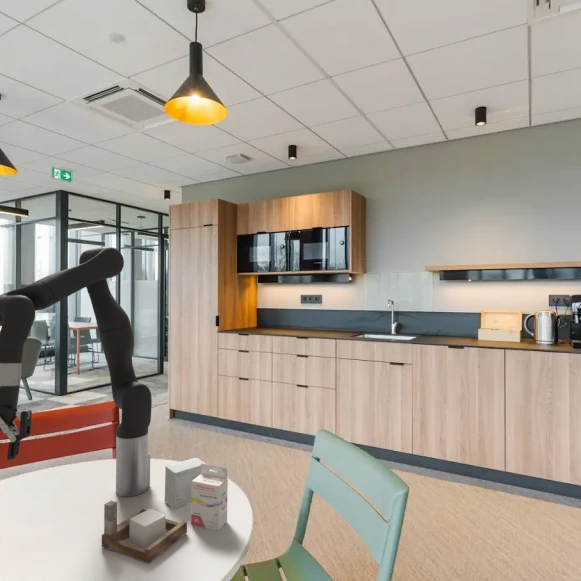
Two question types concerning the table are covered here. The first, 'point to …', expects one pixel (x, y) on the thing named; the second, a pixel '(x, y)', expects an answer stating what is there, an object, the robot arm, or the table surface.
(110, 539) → the pull frame
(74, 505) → the table surface
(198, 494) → the ink cartridge box
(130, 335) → the robot arm
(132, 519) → the white cube
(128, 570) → the table surface
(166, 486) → the skincare box
